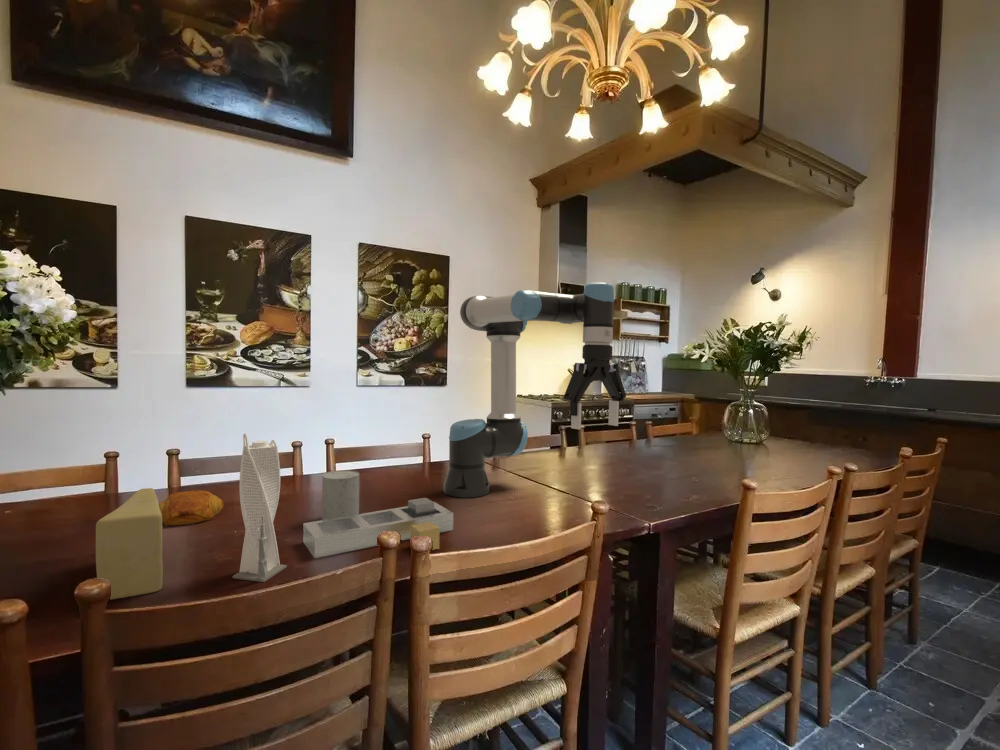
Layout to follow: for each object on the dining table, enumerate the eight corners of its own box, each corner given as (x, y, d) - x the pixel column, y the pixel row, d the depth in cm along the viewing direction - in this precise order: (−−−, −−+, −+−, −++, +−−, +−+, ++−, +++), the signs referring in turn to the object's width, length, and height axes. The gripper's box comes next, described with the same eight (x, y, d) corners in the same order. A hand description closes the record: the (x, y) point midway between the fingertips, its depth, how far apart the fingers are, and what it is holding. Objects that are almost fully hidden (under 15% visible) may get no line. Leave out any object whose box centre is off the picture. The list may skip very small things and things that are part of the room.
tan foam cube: (410, 546, 115) (410, 525, 115) (429, 542, 117) (430, 521, 117) (419, 553, 111) (419, 531, 110) (439, 549, 113) (439, 527, 113)
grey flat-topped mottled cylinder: (324, 527, 125) (324, 480, 125) (319, 516, 134) (319, 472, 133) (362, 522, 130) (362, 476, 129) (355, 512, 138) (355, 469, 138)
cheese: (121, 557, 105) (120, 488, 105) (175, 549, 110) (175, 483, 110) (94, 603, 86) (94, 519, 85) (161, 592, 91) (161, 511, 90)
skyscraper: (226, 577, 97) (226, 436, 96) (254, 560, 105) (254, 430, 104) (264, 582, 95) (264, 438, 94) (290, 565, 103) (290, 432, 102)
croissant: (163, 520, 135) (158, 492, 135) (227, 507, 141) (222, 480, 140) (147, 537, 122) (142, 506, 121) (218, 522, 127) (214, 492, 127)
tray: (303, 542, 116) (303, 512, 115) (433, 518, 135) (434, 492, 134) (314, 558, 107) (314, 526, 106) (453, 530, 126) (453, 503, 125)
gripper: (572, 342, 115) (569, 432, 116) (641, 345, 130) (638, 425, 131) (550, 342, 121) (548, 428, 122) (619, 345, 136) (616, 422, 137)
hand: (595, 427), depth 126 cm, fingers open, 13 cm apart
